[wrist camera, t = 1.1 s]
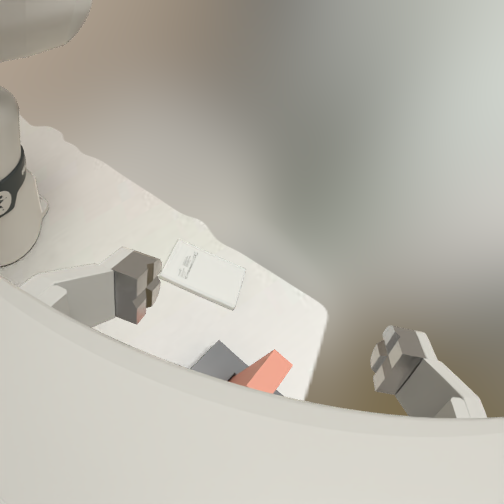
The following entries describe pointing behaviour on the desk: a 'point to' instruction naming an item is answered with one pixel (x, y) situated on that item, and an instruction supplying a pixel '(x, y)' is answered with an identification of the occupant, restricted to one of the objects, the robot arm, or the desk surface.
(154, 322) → the desk surface
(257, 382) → the pink rectangular bar
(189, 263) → the external hard drive
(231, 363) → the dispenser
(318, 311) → the desk surface
